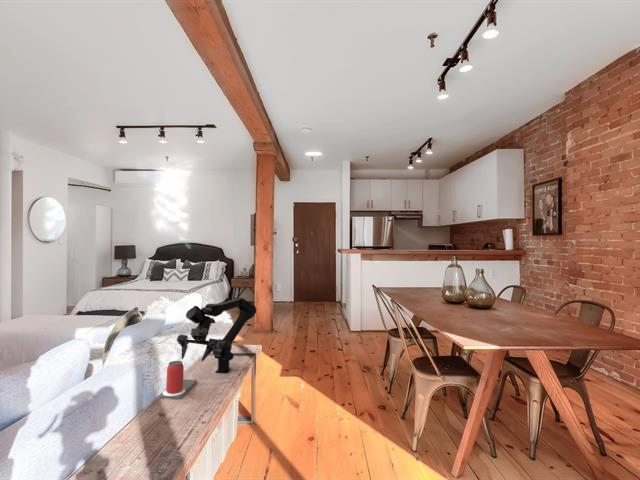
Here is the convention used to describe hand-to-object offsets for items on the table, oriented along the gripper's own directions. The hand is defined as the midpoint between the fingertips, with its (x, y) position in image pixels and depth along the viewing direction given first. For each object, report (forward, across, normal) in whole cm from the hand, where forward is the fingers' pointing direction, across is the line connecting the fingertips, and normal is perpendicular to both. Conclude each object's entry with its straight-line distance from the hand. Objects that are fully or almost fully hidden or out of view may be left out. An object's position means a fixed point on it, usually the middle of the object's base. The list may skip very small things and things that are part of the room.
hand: (192, 359), depth 153 cm
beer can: (+14, -3, +1) cm, 14 cm away
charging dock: (+12, -3, +5) cm, 13 cm away
